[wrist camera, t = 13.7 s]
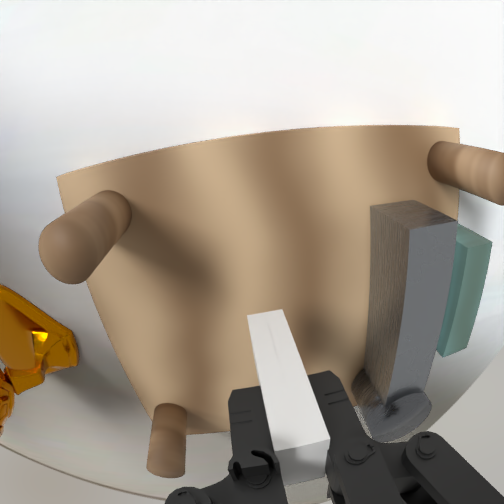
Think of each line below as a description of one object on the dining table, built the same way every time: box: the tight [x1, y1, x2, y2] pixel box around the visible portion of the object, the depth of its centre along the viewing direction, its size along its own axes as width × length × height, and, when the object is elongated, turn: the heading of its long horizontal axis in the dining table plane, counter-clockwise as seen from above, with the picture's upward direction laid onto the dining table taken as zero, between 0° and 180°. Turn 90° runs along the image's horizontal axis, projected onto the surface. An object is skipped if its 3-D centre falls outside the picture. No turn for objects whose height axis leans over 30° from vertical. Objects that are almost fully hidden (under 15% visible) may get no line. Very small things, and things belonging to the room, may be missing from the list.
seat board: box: [39, 125, 504, 478], centre depth 16 cm, size 22×20×6 cm
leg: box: [351, 200, 458, 442], centre depth 16 cm, size 15×4×4 cm, turn 9°
